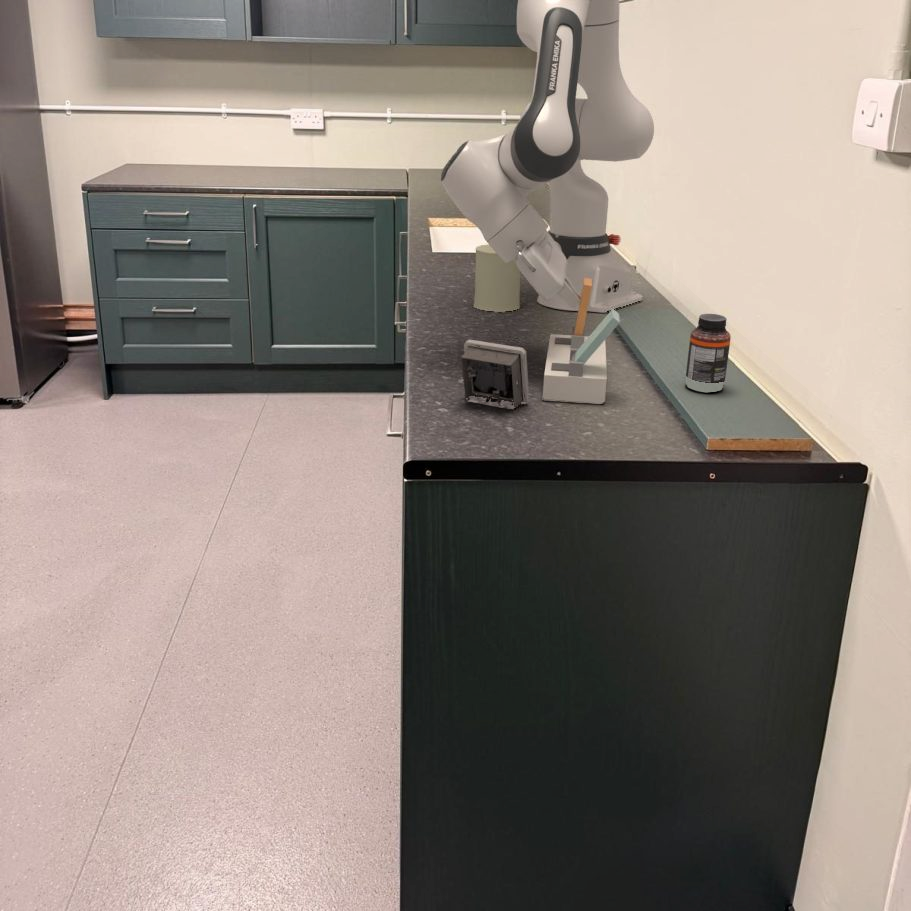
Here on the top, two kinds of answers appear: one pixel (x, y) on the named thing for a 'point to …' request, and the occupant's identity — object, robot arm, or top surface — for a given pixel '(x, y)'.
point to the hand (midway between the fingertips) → (577, 303)
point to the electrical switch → (495, 371)
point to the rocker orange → (583, 306)
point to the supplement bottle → (708, 350)
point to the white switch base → (574, 371)
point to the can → (495, 282)
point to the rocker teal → (597, 337)
